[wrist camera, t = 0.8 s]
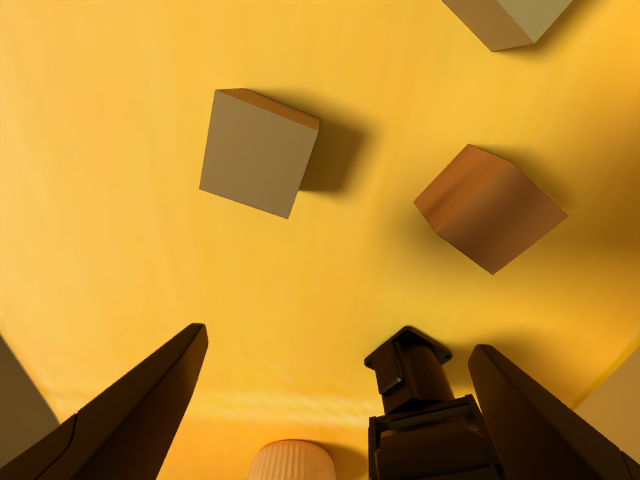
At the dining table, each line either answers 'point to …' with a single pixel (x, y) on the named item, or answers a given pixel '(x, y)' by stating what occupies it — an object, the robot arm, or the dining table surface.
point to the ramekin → (292, 462)
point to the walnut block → (487, 208)
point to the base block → (507, 19)
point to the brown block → (257, 150)
